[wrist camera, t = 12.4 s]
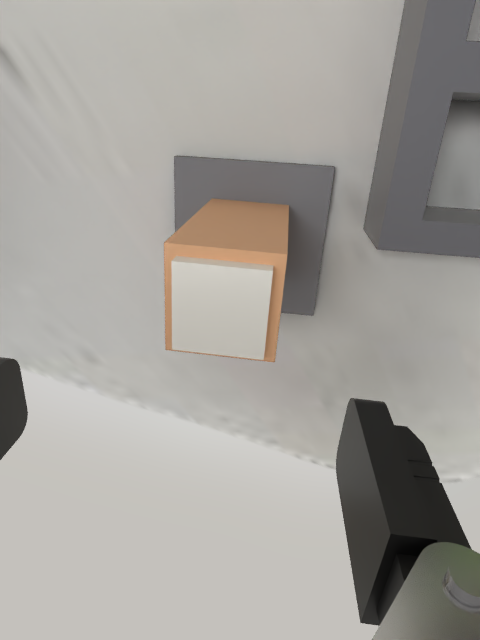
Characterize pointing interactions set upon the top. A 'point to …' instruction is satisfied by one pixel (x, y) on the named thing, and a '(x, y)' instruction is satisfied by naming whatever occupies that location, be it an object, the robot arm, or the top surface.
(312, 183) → the mat
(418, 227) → the grey block holder
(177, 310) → the plug
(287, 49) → the top surface
